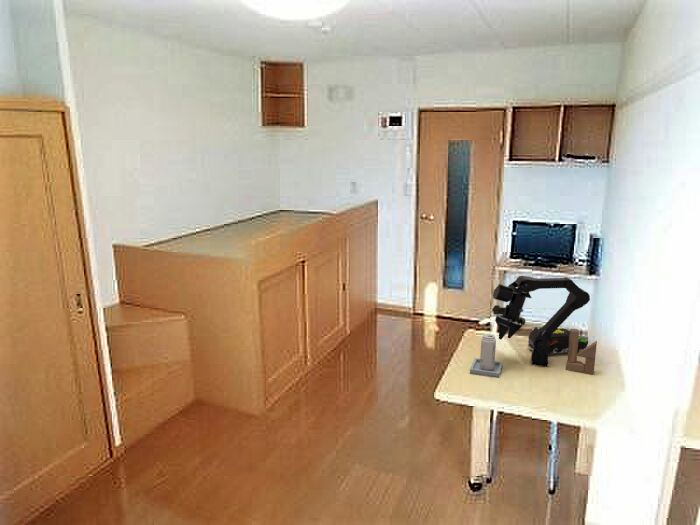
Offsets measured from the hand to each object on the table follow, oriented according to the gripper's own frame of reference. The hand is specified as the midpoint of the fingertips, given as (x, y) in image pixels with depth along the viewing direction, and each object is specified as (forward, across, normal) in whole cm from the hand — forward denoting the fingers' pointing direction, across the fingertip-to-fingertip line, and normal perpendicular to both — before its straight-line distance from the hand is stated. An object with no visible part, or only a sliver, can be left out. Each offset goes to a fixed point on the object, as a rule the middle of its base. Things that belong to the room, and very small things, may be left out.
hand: (504, 338), depth 223 cm
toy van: (+3, -32, +13) cm, 35 cm away
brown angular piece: (+4, -18, +29) cm, 34 cm away
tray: (+15, +5, -1) cm, 16 cm away
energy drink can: (+14, +5, -1) cm, 15 cm away
